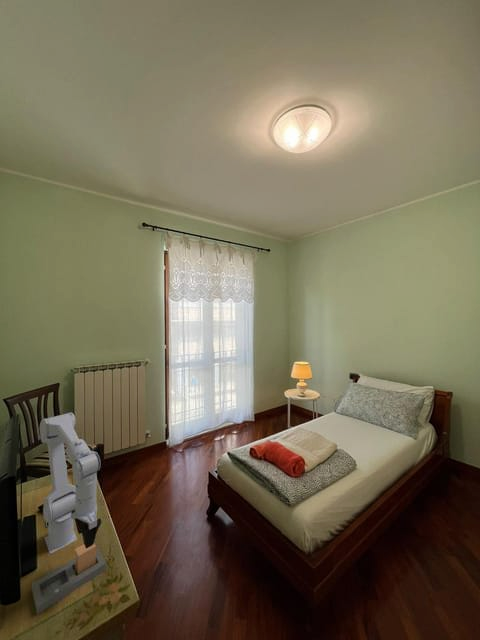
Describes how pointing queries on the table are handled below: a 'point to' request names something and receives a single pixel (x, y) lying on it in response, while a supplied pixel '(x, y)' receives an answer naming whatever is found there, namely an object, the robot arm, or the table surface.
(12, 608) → the table surface
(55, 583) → the grey slotted tray
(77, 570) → the tan rectangular block
